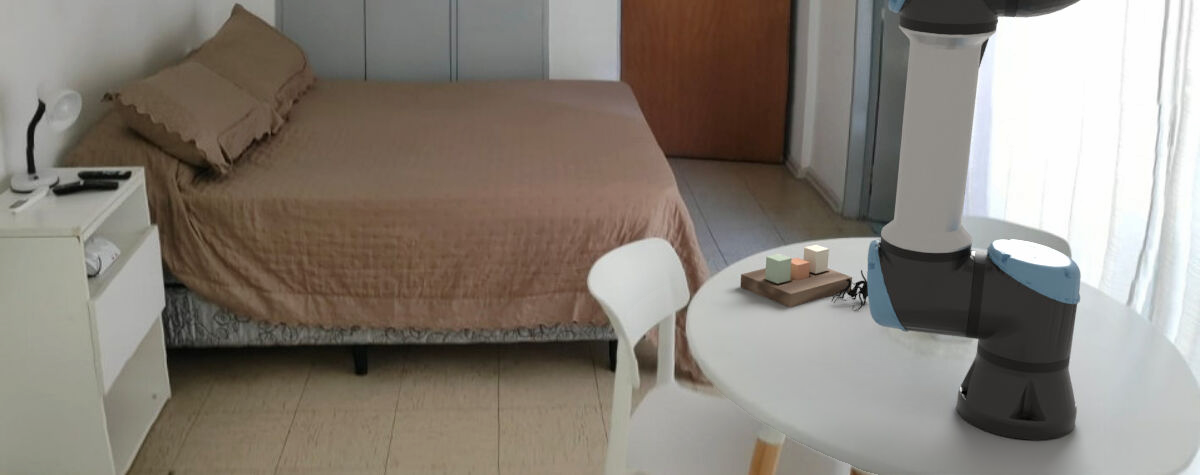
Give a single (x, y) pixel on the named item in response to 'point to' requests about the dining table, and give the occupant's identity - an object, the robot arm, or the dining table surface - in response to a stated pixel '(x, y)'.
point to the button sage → (778, 268)
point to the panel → (796, 286)
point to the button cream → (816, 258)
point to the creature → (855, 290)
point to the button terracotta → (799, 269)
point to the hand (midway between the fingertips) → (949, 115)
